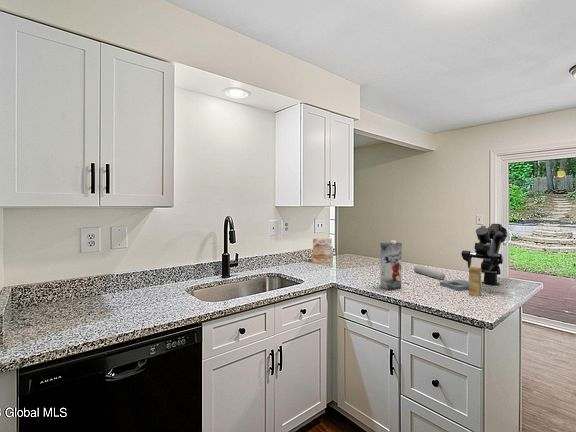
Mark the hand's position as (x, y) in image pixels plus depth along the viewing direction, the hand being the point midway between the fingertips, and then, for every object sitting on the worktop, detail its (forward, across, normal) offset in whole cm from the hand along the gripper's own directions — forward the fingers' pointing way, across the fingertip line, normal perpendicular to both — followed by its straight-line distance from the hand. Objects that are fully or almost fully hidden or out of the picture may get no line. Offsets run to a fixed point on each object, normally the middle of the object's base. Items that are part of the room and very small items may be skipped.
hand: (478, 269), depth 163 cm
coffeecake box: (+1, -116, +17) cm, 117 cm away
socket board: (+5, -10, +12) cm, 17 cm away
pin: (+13, 0, +4) cm, 14 cm away
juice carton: (+26, -37, -8) cm, 46 cm away
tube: (-6, -33, +24) cm, 42 cm away
